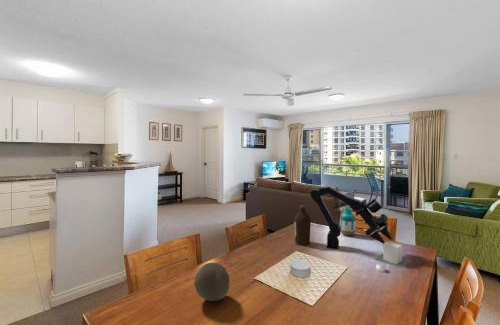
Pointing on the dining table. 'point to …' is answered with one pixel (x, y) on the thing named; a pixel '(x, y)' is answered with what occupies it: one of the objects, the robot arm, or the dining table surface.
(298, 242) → the olive oil
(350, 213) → the vase
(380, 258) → the grey square tile
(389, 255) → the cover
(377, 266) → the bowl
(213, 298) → the dark grey ball
